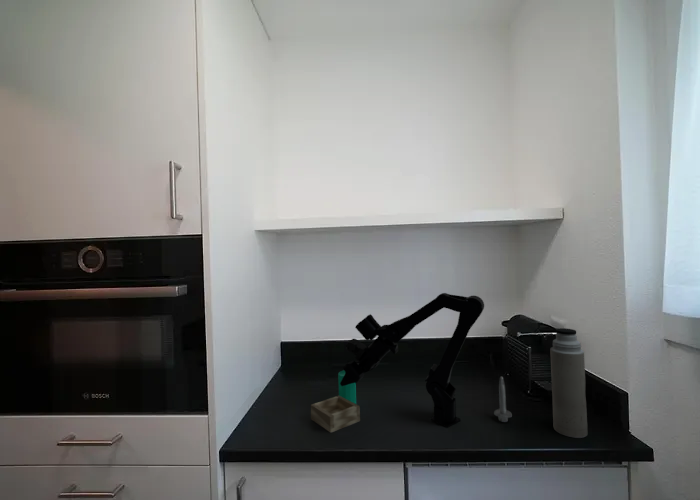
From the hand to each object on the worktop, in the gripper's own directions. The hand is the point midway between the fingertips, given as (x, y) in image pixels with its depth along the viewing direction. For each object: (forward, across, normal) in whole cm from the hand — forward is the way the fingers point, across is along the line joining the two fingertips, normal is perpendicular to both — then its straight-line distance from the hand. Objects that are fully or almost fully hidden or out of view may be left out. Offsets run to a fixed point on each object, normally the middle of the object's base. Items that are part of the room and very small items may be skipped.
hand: (347, 380), depth 118 cm
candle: (+6, 0, +6) cm, 8 cm away
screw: (-29, -6, +40) cm, 49 cm away
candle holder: (+4, +12, +7) cm, 15 cm away
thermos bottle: (-41, -7, +52) cm, 66 cm away
